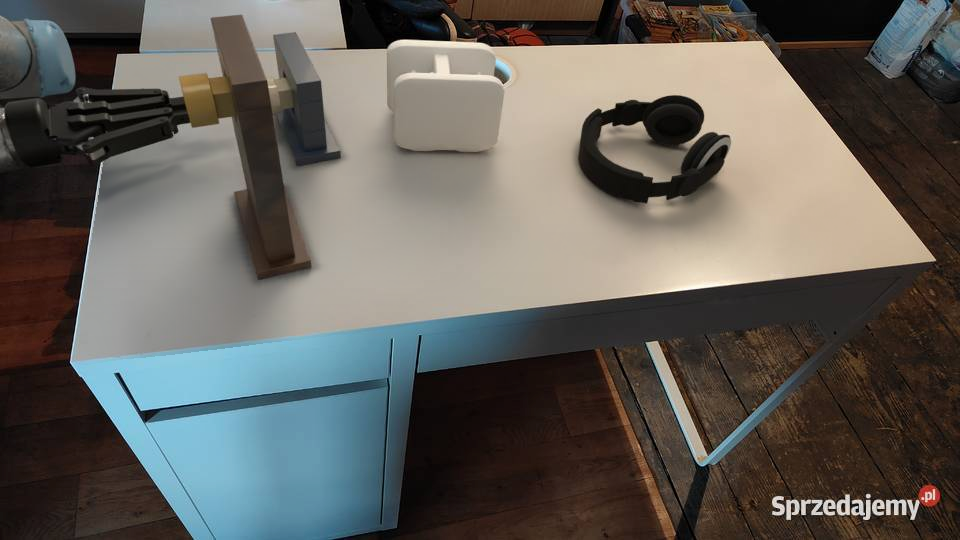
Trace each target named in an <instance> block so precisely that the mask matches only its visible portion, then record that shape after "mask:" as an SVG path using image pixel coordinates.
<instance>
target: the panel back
mask: <svg viewBox="0 0 960 540" xmlns="http://www.w3.org/2000/svg"><path fill="white" fill-rule="evenodd" d="M272 39H273V44H274V50H275V58H276V59H275V60H276V64H277V73H278V79H281V78H287V79H288V81H289V83H290V86H291V89H292V96H293V104H294V108H288V109H282V110H281V113H280V114H275V115H274V116H275V119H276V122H277V123H278V126H279V128H280V131H281V133H282V136H283V138H284V140H285V143H286V146H287V148H288V150H289V152H290V155H291V157H292V159H293V161H294V165H295V166H296V167H300V166H305V165H309V164H314V163H320V162H325V161H332V160H337V159H341V158H342V154H341V153H342V152H341V149H340V147H339V145H338V143H337V141H336V139H335V137H334V135H333V132H332V131H331V128H330V126H329V124H328V123H327V120H326V119H325V108H324V99H323V98H324V97H323V86H322V80H321V78H320V76H319V74H318V72H317V70H316V67H315V66H314V64H313V62H312V60H311V58H310V57H309V54H308V52H307V51H306V49H305V47H304V44H303V43H302V41H301V39H300V37H299V35H298V34H297V31H292V32H284V33H277V34H272Z"/></svg>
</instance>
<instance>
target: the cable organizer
mask: <svg viewBox="0 0 960 540" xmlns="http://www.w3.org/2000/svg"><path fill="white" fill-rule="evenodd" d="M496 61H497V59H496V54H495V51H494V49H493V47H491V46H490V45H489V44H486V43H484V42H473V41H472V42H469V41H450V40H449V41H445V40H422V39H421V40H420V39H397V40H395V41H393V42H391V43H390V44H389V45H388V46H387V49H386V105H387V108H388V109H389V110H390V111H391V112H393V140H394V142H395V144H396V146H399V147H400V148H402V149H406V150H411V151H413V152H434V151H457V152H460V153H461V152H462V153H479V152H481V151H487V150H489V149H492V148H493V147H495V146H496V144H497V143H498V139H499V134H500V133H499V132H500V126H501V118H502V113H503V112H502V111H503V106H504V99H505V89H504V84H503V82H502V80H501V79H499V78H498V77H496V76H495V71H496V70H495V69H496V64H497V63H496Z"/></svg>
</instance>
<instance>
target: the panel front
mask: <svg viewBox="0 0 960 540" xmlns="http://www.w3.org/2000/svg"><path fill="white" fill-rule="evenodd" d="M210 23H211V28H212V32H213V38H214V41H215V47H216V51H217V55H218V56H217V57H218V60H219V65H220V69H221V75H222V77H223V76H226V77H227V81H228V84H229V87H230V91H231V96H232V100H233V105H234V110H235V115H236V116H233V117H231V120H232V125H233V131H234V135H235V140H236V144H237V150H238V154H239V158H240V163H241V167H242V172H243V177H244V181H245V186H246V187H245V189H241V190H237V191H236V190H235V191H234V192H233V193H234V197H235V201H236V205H237V210H238V212H239V216H240V220H241V223H242V226H243V230H244V234H245V238H246V242H247V246H248V249H249V253H250V256H251V260H252V263H253V267H254V270H255V274H256V278H257V281H258V280H259V281H260V280H263V279H267V278H273V277H276V276H280V275H284V274H285V275H286V274H289V273H293V272H297V271H298V272H299V271H301V270H302V271H303V270H307V269H311V268H312V267H313V266H312V260H311V257H310V253H309V251H308V249H307V245H306V242H305V240H304V237H303V234H302V231H301V228H300V225H299V223H298V220H297V216H296V214H295V210H294V208H293V205H292V202H291V199H290V197H289V194H288V191H287V188H286V185H285V183H284V182H285V181H284V177H283V170H282V165H281V164H282V163H281V159H280V152H279V146H278V145H279V144H278V138H277V132H276V125H275V120H274V115H273V113H272V107H271V100H270V94H269V88H268V82H267V78H266V77H267V76H266V73H265V71H264V68H263V66H262V63H261V60H260V58H259V55H258V52H257V49H256V47H255V45H254V41H253V39H252V36H251V34H250V31H249V29H248V25H247V23H246V21H245V17H244V15H243V14H235V15H234V14H233V15H223V16H222V15H221V16H213V17H210Z"/></svg>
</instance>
